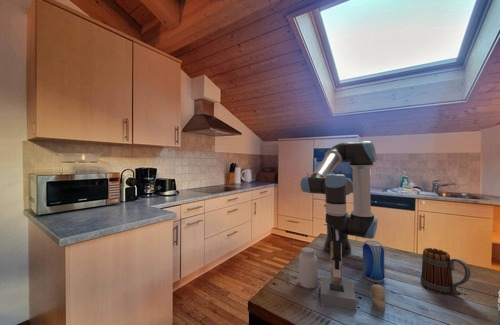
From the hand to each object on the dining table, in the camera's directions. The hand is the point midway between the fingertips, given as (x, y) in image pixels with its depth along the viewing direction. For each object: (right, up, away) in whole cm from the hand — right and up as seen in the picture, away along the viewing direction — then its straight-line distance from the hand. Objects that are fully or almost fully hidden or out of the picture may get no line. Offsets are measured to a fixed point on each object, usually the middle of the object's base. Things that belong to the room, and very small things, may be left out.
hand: (336, 273), depth 81 cm
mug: (+46, -9, +4) cm, 47 cm away
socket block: (0, -9, 0) cm, 9 cm away
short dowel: (+13, -9, -5) cm, 17 cm away
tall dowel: (0, -3, 0) cm, 3 cm away
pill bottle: (-8, -10, +10) cm, 16 cm away
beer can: (+23, -10, +14) cm, 28 cm away
